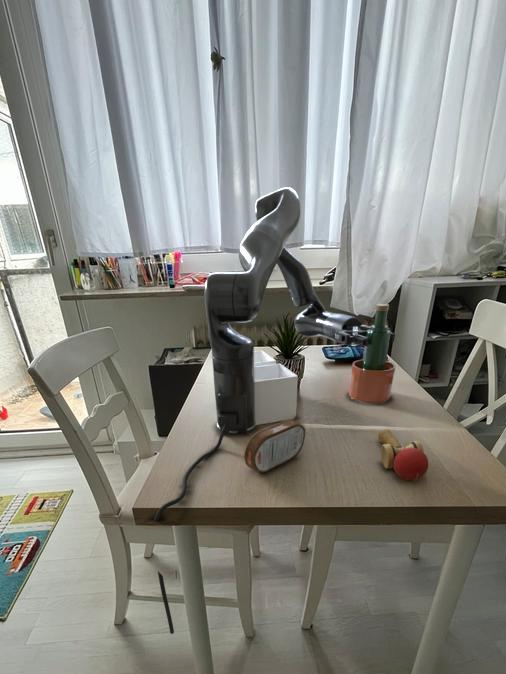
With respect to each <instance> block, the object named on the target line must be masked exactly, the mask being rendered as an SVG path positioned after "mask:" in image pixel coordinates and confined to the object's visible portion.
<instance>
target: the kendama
mask: <svg viewBox="0 0 506 674" xmlns="http://www.w3.org/2000/svg"><path fill="white" fill-rule="evenodd" d="M377 439H378V441H379V442H380V443H382V445H381V449H380V455H381V461H382V464H383V467H384V468H385V469H393V470H394V472H395V473H396V475H397V476H398V477H399V478H401V479H403V480H406V481H412V482H414V481H417V480H419V479H422V478H423V477H424V476H425V475H426V474H427V472H428V469H429V466H430V465H429V464H430V463H429V459H428V456H427V455H426V454H425V452H424V448H423V445H422V442H421V441H420V440H413V441H412V442H411V443H409V445H407V446H402V444H401V443H400V442H399V440H398V439H397V437H395V435H394V434H393V432H392V431H391V429H390V430H389V429H388V428H387V429H386V428H384V429H381V431H379V433H378V434H377Z"/></svg>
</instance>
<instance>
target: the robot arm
mask: <svg viewBox="0 0 506 674" xmlns="http://www.w3.org/2000/svg"><path fill="white" fill-rule="evenodd" d="M254 212H255V219H256V222H255V223H253V225H252V226H250V227H249V229H248V230H247V232H246V233H245V235H244V237H243V239H242V240H241V242H240V245H239V248H238V259H239V263H240V265H241V268H242V269H243V271H238V272H237V271H232V272H231V271H229V272H227V271H225V272H224V271H223V272H221V271H219V272H211V273H210V274H209V275H208V276H207V277H206V279H205V283H204V294H203V295H204V305H205V306H204V307H205V313H206V321H207V329H208V341H209V344H210V349H211V358H212V373H213V386H214V399H215V400H214V401H215V412H216V428H217V430H218V431H220V434H219V436H218V440H217V443H216V444H215V446H214V447H213V448H212V449H211V450H209V451H208V452H206V453H204V454H202V455H200V457H199V458H197V460H195V462H193V464H191V466H190V467H188V469H187V471H186V472H185V474H184V476H183V478H182V490H181V492H180V494H179V496H177V497H176V498H175V499H172V500H169V501H168V502H166V503H164V504H162V506H161V507H159V509H158V510H157V512H156V514H155V515H154V520H153V521H155V522H158V521H159V520H160V518H161V516H162V514H163V512H164V511H165V510H166V509H168V508H170V507H171V506H174V505H176V504H178V503H180V502H181V501H182V500H183V499H184V497H185V496H186V493H187V485H188V479H189V477H190V475H191V473H192V472H193V471H194V469H195V468H196V467H197V466H198V465H199V464H200V463H201V462H202V461H203V460H205V459H206V458H208V457H210V456H212V455H213V454H214V453H216V452H217V450H218V449H219V448H220V446H221V445H222V443H223V439H224V436H225V435H242V436H243V435H245V436H246V435H247V434H248V433H250V432H252V431H253V430H255V428H256V426H257V425H256V421H255V384H254V351H255V345H254V341H253V340H252V339H251V338H249V337H247V336H245V335H242V334H241V333H239V332H238V331H236V330H235V329H234V328H233V327H232V326H231V324H230V323H249V322H252V321H255V318H256V317H257V316H258V314H259V311H260V309H261V307H262V303H263V299H264V296H265V293H266V289H267V287H268V284H269V281H270V278H271V276H272V274H273V271H274V270H275V268H276V266H278V268H279V270H280V273H281V274H282V277H283V279H284V282H285V284H286V288H287V290H288V293H289V296H290V299H291V302H292V304H293V306H295V307H297V308H300V307H304V306H307V307H306V308H305V309H303V310H302V311H301V312H300V313H298V314H297V315H296V316H295V317H294V320H293V326H294V325H295V326H294V329H295V330H296V332H297V333H298V334H300V335H301V336H304V337H323V338H327V339H329V340H331V341H333V342H336V343H338V344H342V345H345V346H352V345H353V346H355V345H358V346H361V347H364V348H365V347H366V346H368V342H369V338H368V337H366V333H367V330H369V329H371V326H368V325H367V324H363V323H362V321H361V319H360V318H358V317H355V316H353V315H348V314H344V313H337V312H332V311H327V310H326V308H325V306H324V305H323V304H322V302H321V301H320V299H319V297H318V296H317V294H316V292H315V289H314V287H313V283H312V280H311V277H310V276H311V275H310V274H309V271H308V269H307V268H306V266H305V265H304V263H302V262H301V261H300V260H299V259H298V258H297V257H296V256H294V254H293V253H291V252H290V251H289V249H288V248H287V247H286V244H287V242H288V240H289V238H290V237H291V236H292V234H293V233H294V232H295V230H296V229H297V227H298V225H299V224H300V220H301V215H302V205H301V200H300V196H299V195H298V193H297V191H296V190H294V189H293V188H292V187H281V188H280V189H277V190H275V191H273V192H270V193H268V194H266V195H263V196H261V197H259V198H257V200H256V202H255V207H254ZM388 330H390V331H391V328H389V327H388ZM395 338H396V333H395V332H391V334H390V341H389V343H395ZM157 575H158V582H159V586H160V592H161V597H162V601H163V605H164V610H165V614H166V618H167V623H168V628H169V633H170V635H173V634H174V633H175V629H174V624H173V619H172V615H171V610H170V606H169V601H168V597H167V591H166V586H165V581H164V575H163V574H162V573H161V572H160V571H159V570H157Z"/></svg>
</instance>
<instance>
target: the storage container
mask: <svg viewBox="0 0 506 674" xmlns="http://www.w3.org/2000/svg"><path fill="white" fill-rule="evenodd" d="M298 379H299V376H298V375H297V374H296V373H294V372H293V371H291V370H290V369H289V368H287V366H285V365H283V364H282V363H277V360H276V359H275V358H273V357H272V356H271V355H269V354H267V353H266V352H265V351H263V350H254V384H255V421H256V426H258V425H263V424H270V423H271V424H272V423H275V422H276V423H277V422H282V421H285V420H288V419H292V420H295V419H296V417H297V402H298V383H299V382H298Z"/></svg>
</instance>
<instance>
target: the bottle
mask: <svg viewBox="0 0 506 674" xmlns="http://www.w3.org/2000/svg"><path fill="white" fill-rule="evenodd" d="M389 309H390V304H388V303H377V304H376V305H375V318H374V323H373V324H372V325H370V327H371V329H369V330H367V333H366V337H368V338H369V342H368V346H366V347H364V349H363V356H362V360H363V364H362V369H365V370H372V371H382V370H385V365H386V361H387V357H388V351H389V346H390V342H389V341H390V334H391V333H392V331H391V329H390V330H388V328H389V325H386V324H387V319H388V318H387V316H388V311H389Z"/></svg>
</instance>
